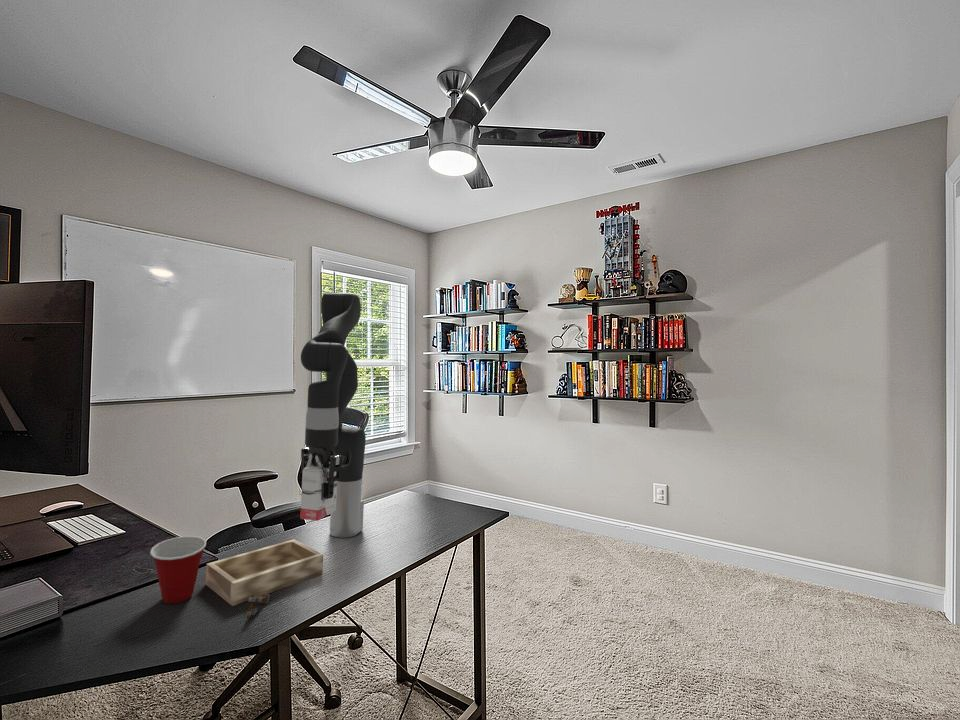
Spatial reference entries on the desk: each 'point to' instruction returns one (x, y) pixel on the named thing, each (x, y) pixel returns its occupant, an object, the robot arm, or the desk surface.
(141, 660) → the desk surface
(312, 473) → the ink box
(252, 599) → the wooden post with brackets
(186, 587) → the plastic cup
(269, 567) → the trough
